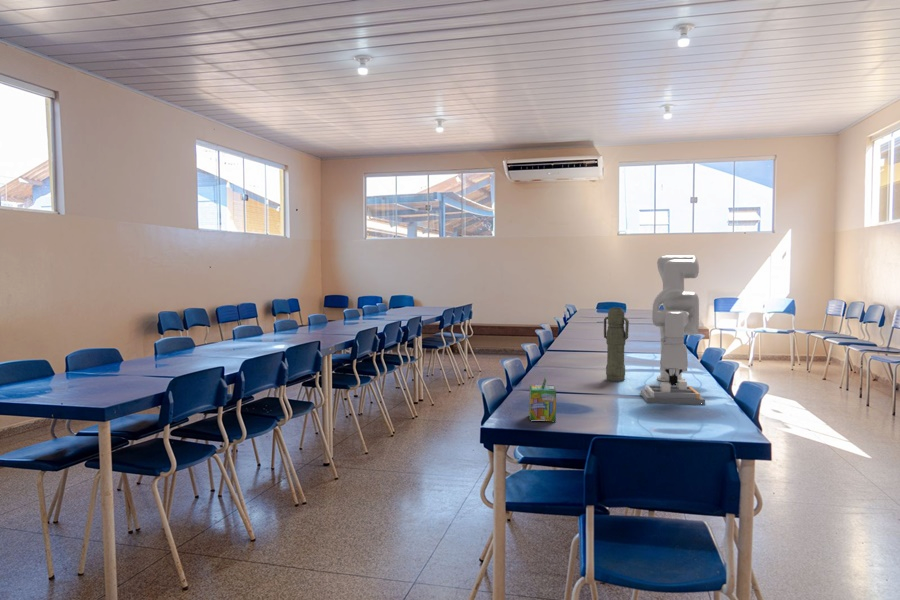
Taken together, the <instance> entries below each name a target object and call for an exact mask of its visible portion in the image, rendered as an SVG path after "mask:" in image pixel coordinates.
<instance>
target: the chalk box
mask: <svg viewBox="0 0 900 600" xmlns="http://www.w3.org/2000/svg"><path fill="white" fill-rule="evenodd" d="M546 382H547V378H546V377H544V379H543V381H542V384H529V400H528V403H529V404H528V405H529V406H528V417H529V416H530V417H529V421H530V420H545V421H546V420H547V421H556V422H557V420H556V419H557V418H556V417H557V416H556V415H557V414H556V410H557V409H556V407H557V390H556V387H555V385H546Z"/></svg>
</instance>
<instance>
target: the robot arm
mask: <svg viewBox="0 0 900 600" xmlns="http://www.w3.org/2000/svg"><path fill="white" fill-rule="evenodd" d="M656 265H657V270H658V272H659V275H660V276H659V277H660V278H661V281H662V290H661V291H660V292H659V293H658V294H657V295H656V297H655V298H654V300H653V303H652V314H651V315H652V320H651V321H652V323H653V325H654V326H656V327H658V328H659V332H660V333H659V335H660V361H659V362H660V366H659V370H660V372H659V373H660V374H659V375H657V377H656V379H657V380H658V381H660V382H669V383H670V384H671V386H677V383H678V380H685V381H686V378H685V377H683V375H682V373H685V372H687V371H688V365H689V364H688V363H689V362H688V361H689V360H688V350H687V345H686V344H685V336H694V335H697V334H698V332H699V328H700V327H699V326H700V300H699V299H700V298H699V296H698V294H697V293H696V292H694V291H685V279H696V278H698V276H699V273H700V266H699V261H698V258H697V257H696V256H695V255H692V254H691V255H690V254H688V255H687V254H686V255H679V254H678V255H676V254H674V255H671V254H670V255H662V256H659V257H658V259H657V261H656ZM661 305H662V307H663V309H660V306H661Z"/></svg>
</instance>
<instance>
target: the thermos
mask: <svg viewBox="0 0 900 600" xmlns="http://www.w3.org/2000/svg"><path fill="white" fill-rule="evenodd" d="M607 325H608V326H607ZM629 325H630V321H629V319H628V318H627V317H625V312H624V309H623V308H622V307H617V306H616V307H614V306H613V307H610V308H609V309H608V313H607V316H605V317H604V318H603V337H604V339H606V342H605V343H606V345H607V353H606V354H607V361H606V362H607V363H606V365H605V375H606V376H605V377H606V378H605V380H606V379H607V380H606V381H609V382H624V380H625V381H626V365H625V345H626V340H628V339H629Z"/></svg>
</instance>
